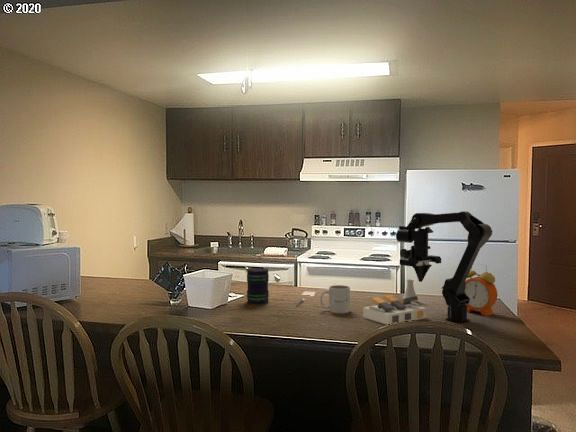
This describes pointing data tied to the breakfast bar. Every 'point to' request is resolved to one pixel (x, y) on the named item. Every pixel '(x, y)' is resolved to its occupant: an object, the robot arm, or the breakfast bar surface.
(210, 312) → the breakfast bar surface
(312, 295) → the spatula
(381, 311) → the switch box
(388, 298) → the block
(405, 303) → the rocker
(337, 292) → the mug
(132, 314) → the breakfast bar surface
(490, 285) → the alarm clock
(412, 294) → the flask
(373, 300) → the block
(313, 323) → the breakfast bar surface
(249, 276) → the storage jar
